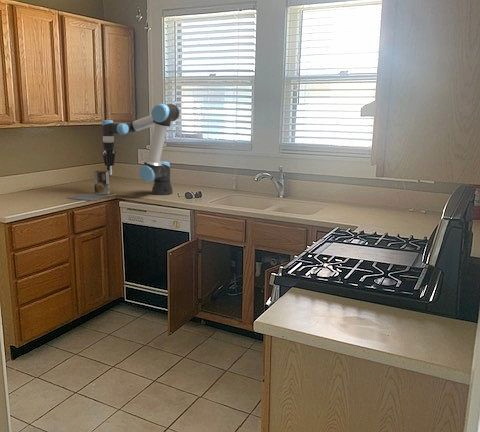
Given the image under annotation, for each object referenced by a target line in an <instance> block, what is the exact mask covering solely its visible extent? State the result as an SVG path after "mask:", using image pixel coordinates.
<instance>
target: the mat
mask: <svg viewBox="0 0 480 432" xmlns="http://www.w3.org/2000/svg"><path fill="white" fill-rule="evenodd" d="M108 197H109V195H102V194H95V193H89V192H88V193H87V192H86V193H81V194H77V195H73V196H68V197H67V199H71V200H78V201H87V202H89V201H90V202H93V201H96V200H100V199H104V198H108Z"/></svg>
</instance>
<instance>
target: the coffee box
mask: <svg viewBox="0 0 480 432" xmlns="http://www.w3.org/2000/svg"><path fill="white" fill-rule="evenodd" d="M93 182H94V194H97V195H106V196H108V195H110V194H111V188H110V175H109V171H108V170H96V171H94V172H93Z"/></svg>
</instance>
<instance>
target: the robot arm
mask: <svg viewBox="0 0 480 432" xmlns="http://www.w3.org/2000/svg"><path fill="white" fill-rule="evenodd" d="M150 113H151V114H150V115H147V116H144V117H142V118H139V119H135V120H133V121H131V122H114V120H112V119H103V120H102V121H101V123H102V124H101V129H102V141H103V143H102V147H103V148H104V150H103V151H102V152H101V155H102V158H103V163H104V166H106V169H107V170H106V171H109V176H112V175H113V166H114V165H115V157H116V153H117V151H116V150H114V148H115V143H114V141H115V135H127V134H135V133H138V132H139V131H142V130H145V129H148V128H151V127H153V129H152V130H153V131H152V135H151V141H150V144H149V149H148V154H147V158H146V159H145V160H144V162H143V165H142V166H141V167H140V168H139V170H138V171H139V172H138V174H139V177H140V179H141V180H142V181H143V182H147V183H152V182H153V185H152V188H151V194H153V195H157V196H166V195H172V194H174V189H173V186H172V183H171V164H170V162H168V161H161V160H162V154H163V148H164V145H165V144H164V143H165V140H166V135H167V130H168V128H170V127H171V123H172V122H175V121H176V120H177V119H179V118H180V110H179V107H178V106H177V105H175V104H174V103H158V104H156V105H154V106H153V107H152V109H151V112H150Z"/></svg>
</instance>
